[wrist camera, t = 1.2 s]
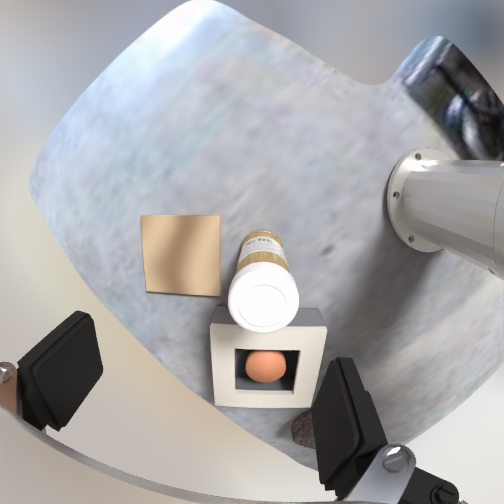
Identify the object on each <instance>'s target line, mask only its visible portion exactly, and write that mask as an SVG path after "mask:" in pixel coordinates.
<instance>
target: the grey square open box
mask: <svg viewBox="0 0 504 504" xmlns="http://www.w3.org/2000/svg"><path fill="white" fill-rule="evenodd" d="M326 335H327V328H326V326H325V323H324V321H323V318H322V316H321V313H320V311H319V309H318V308H298V311H297V313H296V315H295V317H294V318H293V320H292V321H291V322H290V323H289V324H288V325H287V326H285V327H284V328H282V329H281V330H278V331H276V332H272V333H266V334H260V333H254V332H250V331H248V330H246V329H244V328H242V327H241V326H240V325H238V324H237V323H236V322H235V320H234V319H233V318H232V316H231V314H230V311H229V308H228V306H219V305H217V307H216V310H215V313H214V316H213V319H212V322H211V325H210V339H211V357H212V372H213V385H214V398H215V405H219V406H233V407H252V408H304V407H311V403H312V399H313V395H314V391H315V387H316V383H317V378H318V374H319V369H320V365H321V360H322V355H323V350H324V345H325V340H326ZM235 349H258V350H299V356H298V362H297V369H296V375H295V379H278V380H276V381H273V382H268V383H263V382H258V381H255V380H253V379H252V378H242V377H235Z"/></svg>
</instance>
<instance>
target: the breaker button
mask: <svg viewBox="0 0 504 504" xmlns="http://www.w3.org/2000/svg"><path fill="white" fill-rule="evenodd" d="M285 370H286V363H285V356H284V354H283V352H282V351H281V350H258V349H252V350H251V351H250V352H249V353H248V355H247V359H246V372H247V374H248V375H249V377H250V378H252V379H253V380H255V381H258V382H263V383H268V382H273V381H276V380H278V379H279V378H281V377H282V376H283V375H284V373H285Z"/></svg>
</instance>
